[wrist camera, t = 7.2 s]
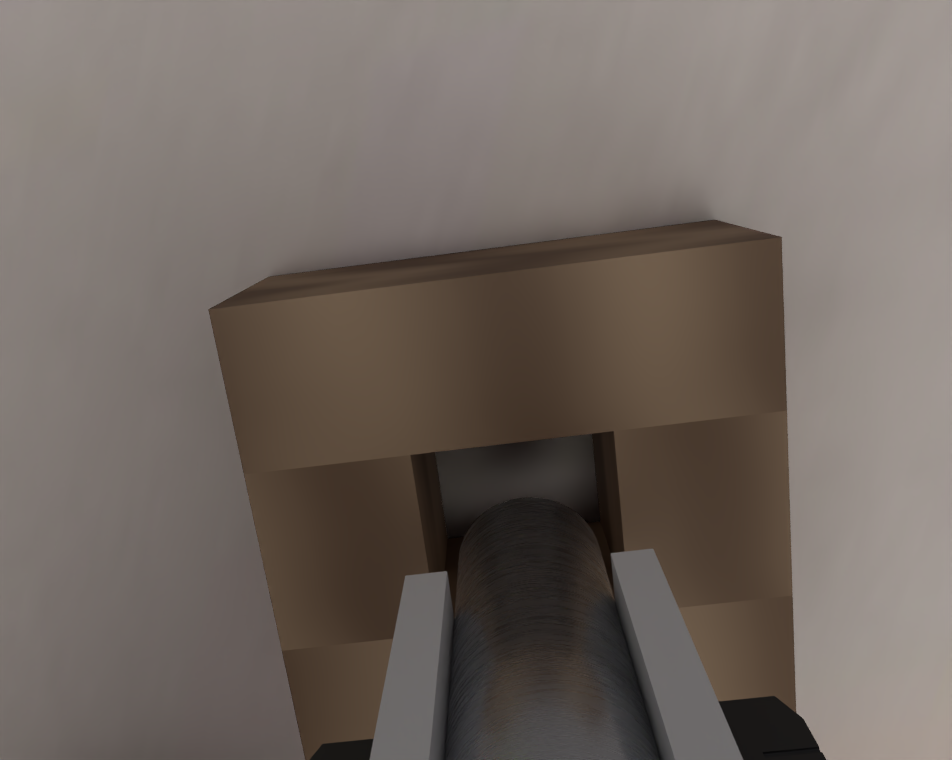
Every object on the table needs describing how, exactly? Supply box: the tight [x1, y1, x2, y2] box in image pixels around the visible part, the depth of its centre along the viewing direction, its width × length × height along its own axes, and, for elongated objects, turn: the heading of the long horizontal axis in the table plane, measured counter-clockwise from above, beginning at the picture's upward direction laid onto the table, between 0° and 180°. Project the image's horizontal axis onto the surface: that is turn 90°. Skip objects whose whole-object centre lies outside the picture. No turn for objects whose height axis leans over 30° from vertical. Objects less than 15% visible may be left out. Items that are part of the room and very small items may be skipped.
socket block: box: [209, 220, 796, 760], centre depth 21 cm, size 12×12×5 cm
